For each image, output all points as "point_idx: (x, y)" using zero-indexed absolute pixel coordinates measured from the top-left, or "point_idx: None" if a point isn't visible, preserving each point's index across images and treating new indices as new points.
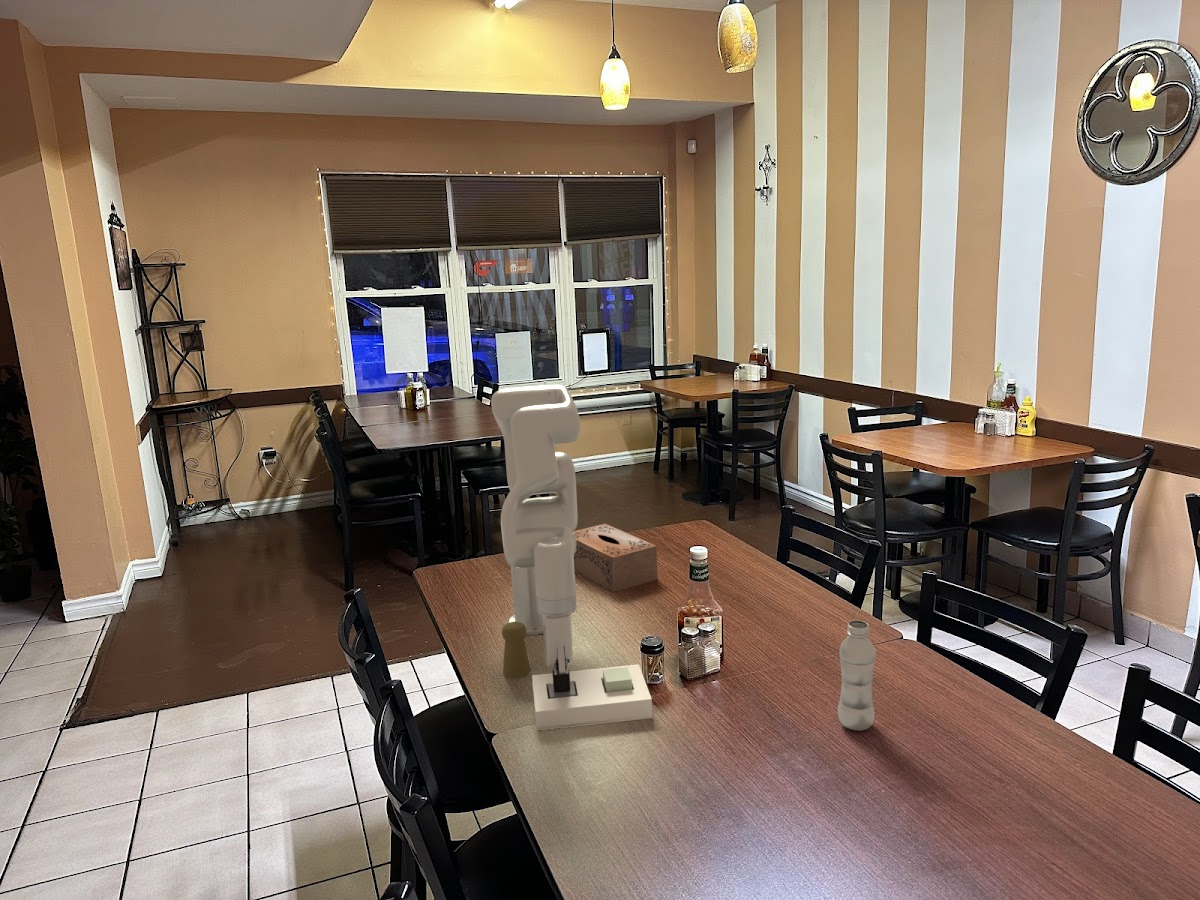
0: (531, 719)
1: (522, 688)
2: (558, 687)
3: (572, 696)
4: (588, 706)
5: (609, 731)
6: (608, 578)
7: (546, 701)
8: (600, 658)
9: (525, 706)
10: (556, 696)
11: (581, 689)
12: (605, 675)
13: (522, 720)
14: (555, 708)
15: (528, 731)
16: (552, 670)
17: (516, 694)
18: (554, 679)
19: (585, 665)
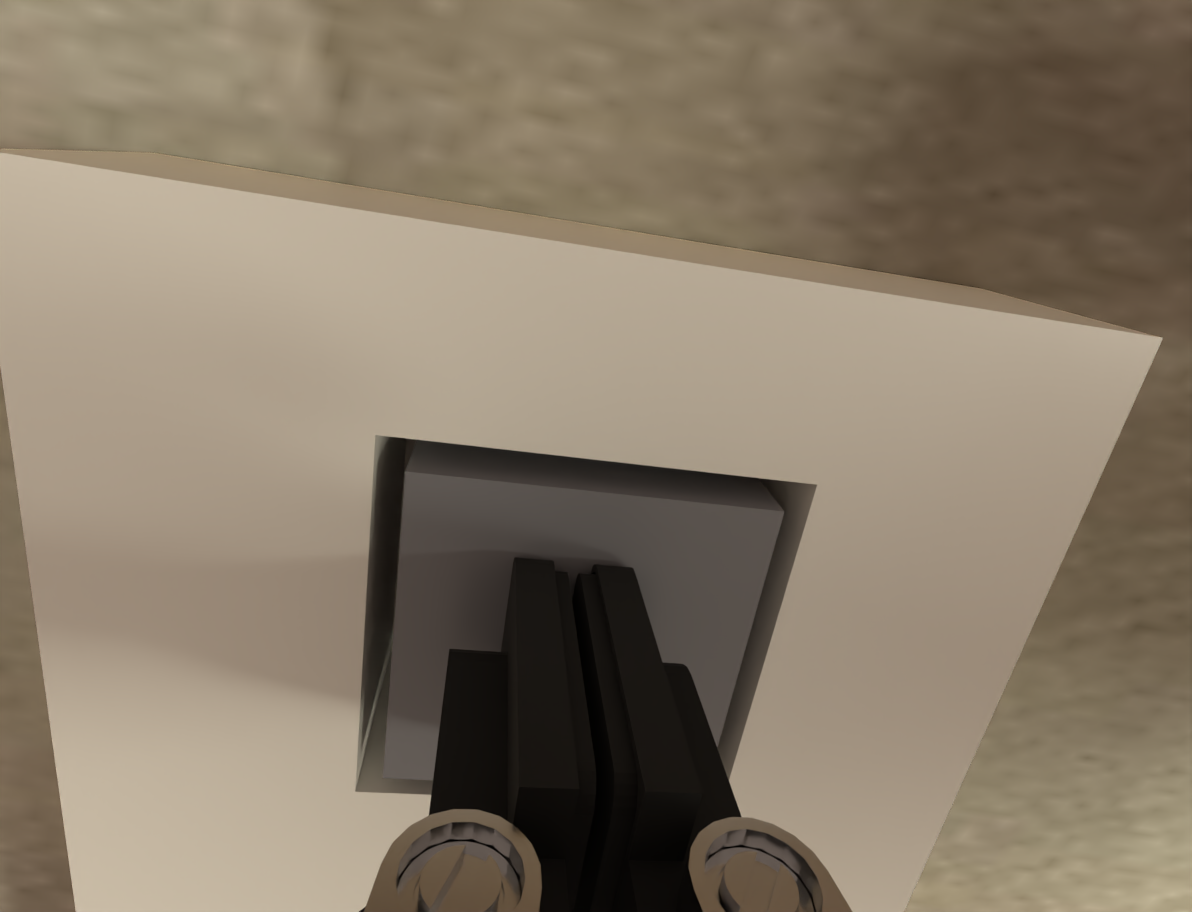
0: (444, 145)
1: (1148, 190)
2: (448, 666)
3: (354, 735)
4: (70, 851)
5: (48, 801)
6: None
7: (299, 399)
8: (1169, 894)
9: (759, 137)
10: (401, 559)
11: None
12: None
13: (454, 21)
14: (47, 488)
15: (167, 40)
16: (695, 792)
17: (1069, 86)
18: (514, 709)
19: (1148, 795)
